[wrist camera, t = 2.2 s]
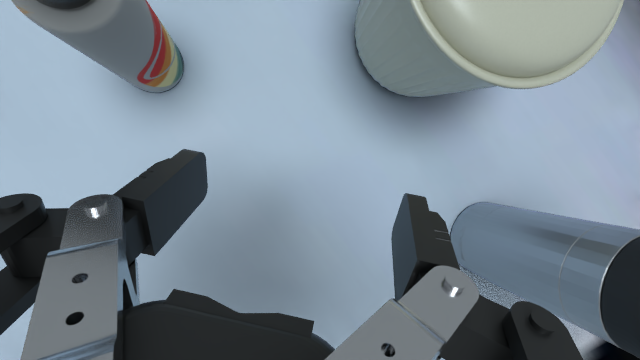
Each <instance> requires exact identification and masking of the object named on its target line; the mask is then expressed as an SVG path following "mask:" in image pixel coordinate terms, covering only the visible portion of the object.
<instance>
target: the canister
mask: <svg viewBox="0 0 640 360" xmlns="http://www.w3.org/2000/svg"><path fill="white" fill-rule="evenodd" d="M623 1H624V0H360V4H359V6H358V9H357V13H356V21H355V29H356V31H355V38H356V47H357V49H358V51H359V57H360V58H361V60H362V62H363V65H364V66H365V67H366V69H367V71H368V73H369V74H370V75H371V76H372V77H373V78H374V80H375V81H377V82H379V83H380V85H381V86H383V87H385V88H387V89H388V90H389V91H393V92H395V93H397V94H399V95H405V96H408V97H413V96H415V97H426V96H435V95H442V94H450V93H457V92H463V91H470V90H475V89H481V88H488V87H494V86H499V87H504V88H510V89H532V88H538V87H543V86H547V85H550V84H553V83H556V82H558V81H561V80H563V79H565V78H567V77H568V76H570V75H572V74H573V73H575V72H576V71H578V70H579V69H580V68H582V67H583V66H584V65H585V64H586V63H587V62H588V61H589V60H590V59H591V58H592V57H593V56H594V55H595V54H596V53H597V52H598V51H599V49H600V48H601V47H602V45H603V44H604V42H605V41H606V39H607V38H608V36H609V35H610V33H611V31H612V29H613V27H614V25H615V23H616V21H617V19H618V16H619V14H620V11H621V8H622V5H623Z"/></svg>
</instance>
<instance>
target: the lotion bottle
mask: <svg viewBox="0 0 640 360" xmlns="http://www.w3.org/2000/svg"><path fill="white" fill-rule="evenodd" d="M12 2H13V3H14V4H15V6H16V7H17V8H18V9H19V10H20V11H21V12H22V13H23V14H24V15H25V16H26V17H28V18H29V19H30V20H32V21H33V22H34V23H36V24H37V25H39V26H40V27H42V28H43V29H45V30H46V31H48V32H50V33H51V34H53V35H54V36H56V37H57V38H59V39H61V40H62V41H64V42H65V43H67V44H68V45H70V46H72V47H73V48H75V49H76V50H78V51H80V52H81V53H83V54H84V55H86V56H88V57H89V58H91V59H92V60H94V61H96V62H97V63H99V64H100V65H102V66H103V67H105V68H107V69H108V70H110V71H111V72H113V73H115V74H116V75H118V76H119V77H121V78H123V79H124V80H126V81H127V82H129V83H131V84H132V85H134V86H136V87H138V88H139V89H142V90H144V91H148V92H164V91H167V90H169V89H171V88H173V87H174V86H175V85H176V84H177V83H178V82H179V80H180V79H181V77H182V74H183V68H184V64H183V58H182V55H181V53H180V51H179V49H178V48H177V46H176V44H175V43H174V41H173V40H172V38H171V37H170V35H169V34H168V32H167V31H166V29H165V28H164V26H163V25H162V23H161V22H160V20H159V19H158V17H157V16H156V14H155V13H154V11H153V10H152V8H151V7H150V5H149V4H148V2H147V1H146V0H12Z"/></svg>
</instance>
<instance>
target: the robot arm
mask: <svg viewBox="0 0 640 360" xmlns="http://www.w3.org/2000/svg"><path fill="white" fill-rule="evenodd" d="M207 188H208V184H207V170H206V157H205V155H204V153H202V152H197V151H192V150H187V149H183V150H181V151H180V152H179V153H177V154H176V155H175V156H173V157H172V158H171V159H170V158H168V159H166V160H163V161H160V162H158V163H155V164H154V165H153V166H151V167H150V168H149V169H147V171H145V172H143V173H142V174H140V175H139V177H136V178H135V179H134V180H132V181H131V182H130V183H128V184H127V185H126V186H124V187H123V188H121V189H120V190H119V191H117V192H116V193H115V194H113V195H108V194H101V195H94V196H89V197H86V198H83V199H81V200H79V201H77V202H75V203H74V204H73V205H72V206H71V207H70V208H57V209H45V206H44V204H43V201H42V199H41V198H40V197H39V196H37V195H34V194H15V195H9V196H5V197H2V198H0V254H1V256H2V258H3V260H4V261H5V263H6V265H7V266H6V267H5V268H4V269H2V270H1V271H0V335H1V334H2V333H3V332H4V331H5V330H6V329H7V328H9V327H10V326H11V325H12V324H13V323H14V322H15V321H16V320H17V319H18V318H19V317H20V316H21V315H22V314H23V313H24V312H25V311H26V310H27V309H28V308H30V307H31V306H32V305H33V304H34V303H35V304H34V308H33V312H32V316H31V320H30V324H29V328H28V332H27V336H26V340H25V344H24V348H23V352H22V356H21V360H441V358H444V359H445V360H583V358H582V357H581V355H580V353H579V351H578V349H577V347H576V345H575V343H574V341H573V339H572V337H571V335H570V333H569V332H568V330H567V328H566V327H565V326H564V324H563V323H562V322H561V321H560V320H559V319H558V318H557V317H556V316H558V317H560V318H562V319H564V320H566V321H568V322H570V323H572V324H574V325H576V326H578V327H580V328H582V329H584V330H586V331H588V332H590V333H592V334H594V335H596V336H598V337H600V338H602V339H604V340H606V341H608V342H610V343H612V344H614V345H615V346H617V347H619V348H621V349H623V350H625V351H627V352H629V353H631V354H633V355H635V356H637V357H638V358H640V230H639V229H633V228H628V227H622V226H617V225H610V224H604V223H599V222H593V221H588V220H582V219H577V218H571V217H565V216H560V215H554V214H549V213H543V212H538V211H532V210H526V209H521V208H515V207H510V206H505V205H499V204H493V203H488V202H481V203H476V204H473V205H471V206H469V207H467V208H466V209H465V210H464V211H463V212H462V213H461V214H460V215H459V216H458V218H457V219H456V221H455V223H454V225H453V228H452V232H451V239H450V236H449V234H448V229H447V226H446V223H445V221H444V220H443V219H442V218H441V217H440V215H439V214H438V213H437V212H432V211H429V208H428V204H427V200H426V198H425V197H422V196H417V195H412V194H407V193H405V194H404V196H403V199H402V202H401V205H400V208H399V211H398V214H397V217H396V220H395V223H394V226H393V231H392V255H393V271H394V287H395V299H391V300H389V301H388V302H387V303H385V304H384V305H383V306H382V307H381V308H380V309H379V310H378V311H377V312H376V313H375V314H374V315H372V316H371V317H370V318H369V319H368V320H367V321H366V322H365V323H364V324H363V325H362V326H361V327H359V328H358V329H357V330H356V331H355V332H354V333H353V334H352V335H351V336H350V337H349V338H348V339H346V340H345V341H344V342H343V343H342V344H341V345H340V346H339V347H338V348H337V349H336V350H335V349H334V348H333V347H332V346H331V345H329V344H328V343H327V342H326V341H325V340H323V339H322V338H320V337H319V336H317V335H315V334H313V333H312V330H313V324H314V321H311V320H306V319H302V318H298V317H293V316H289V315H285V314H280V313H238V312H235V311H233V310H232V309H230V308H228V307H226V306H224V305H222V304H220V303H218V302H216V301H215V300H213V299H211V298H209V297H206V296H202V295H198V294H193V293H189V292H185V291H180V290H176V289H173V291H172V292H171V294H170V295H169V297H168V298H167V299H166V300H159V301H152V302H147V303H143V304H140V300H139V282H138V264H137V260H136V258H137V257H138V256H139V255H140V253H143V254H148V255H152V256H155V255H156V254H157V253H158V252H159V251H160V250H161V248H162V247H163V246H164V245H165V244H166V243H167V241H168V240H169V239H170V238H171V237H172V236H173V235H174V233H175V232H176V231H177V230H178V229H179V228H180V226H181V225H182V224H183V223H184V222H185V221H186V220H187V218H188V217H189V216H190V215H191V214H192V213H193V212H194V210H195V209H196V208H197V207H198V206H199V205H200V203H201V202H202V201H203V200H204V198H205V196H206V193H207ZM458 263H459V264H460V265H461V266H462V267H463V268H465V269H466V270H468V271H470V272H472V273H474V274H476V275H478V276H480V277H482V278H484V279H486V280H488V281H490V282H492V283H494V284H495V285H497V286H499V287H501V288H503V289H505V290H507V291H509V292H511V293H513V294H515V295H517V296H519V297H521V298H523V299H525V300H527V301H529V302H526V301H520V302H516V303H515V304H513V306H512V307H511V309H508V308H506V307H503V306H501V305H499V304H497V303H495V302H493V301H490V300H488V299H486V298H484V297H483V296H481V295H480V294H479V291H478V288H477V286H476V284H475V283H474V281H473V280H472V279H471V278H470V277H469V276H468V275H466V274H465V273H463V272H462V271H460V268H459V265H458ZM555 315H556V316H555Z"/></svg>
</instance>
